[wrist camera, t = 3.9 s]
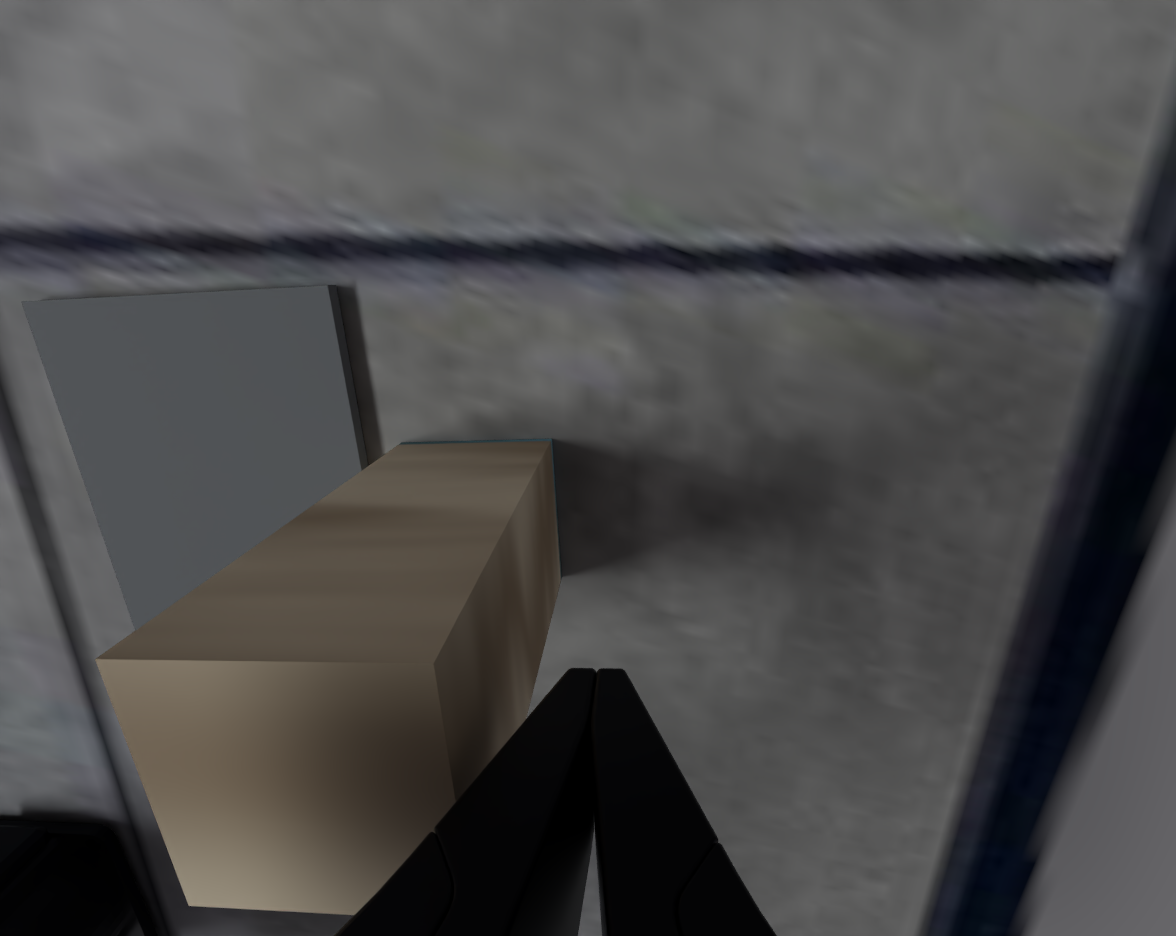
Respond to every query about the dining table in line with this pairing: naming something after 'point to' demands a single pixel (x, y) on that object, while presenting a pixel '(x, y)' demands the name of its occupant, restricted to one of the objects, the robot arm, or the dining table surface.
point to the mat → (200, 422)
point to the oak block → (344, 676)
